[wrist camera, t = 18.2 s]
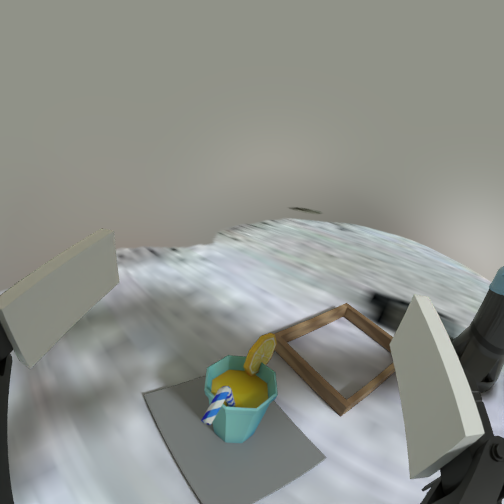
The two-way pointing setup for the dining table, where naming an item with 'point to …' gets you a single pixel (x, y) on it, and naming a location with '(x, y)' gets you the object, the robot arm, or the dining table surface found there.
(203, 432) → the board
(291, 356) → the wooden picture frame
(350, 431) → the dining table surface
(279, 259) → the dining table surface
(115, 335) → the dining table surface
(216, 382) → the cup
